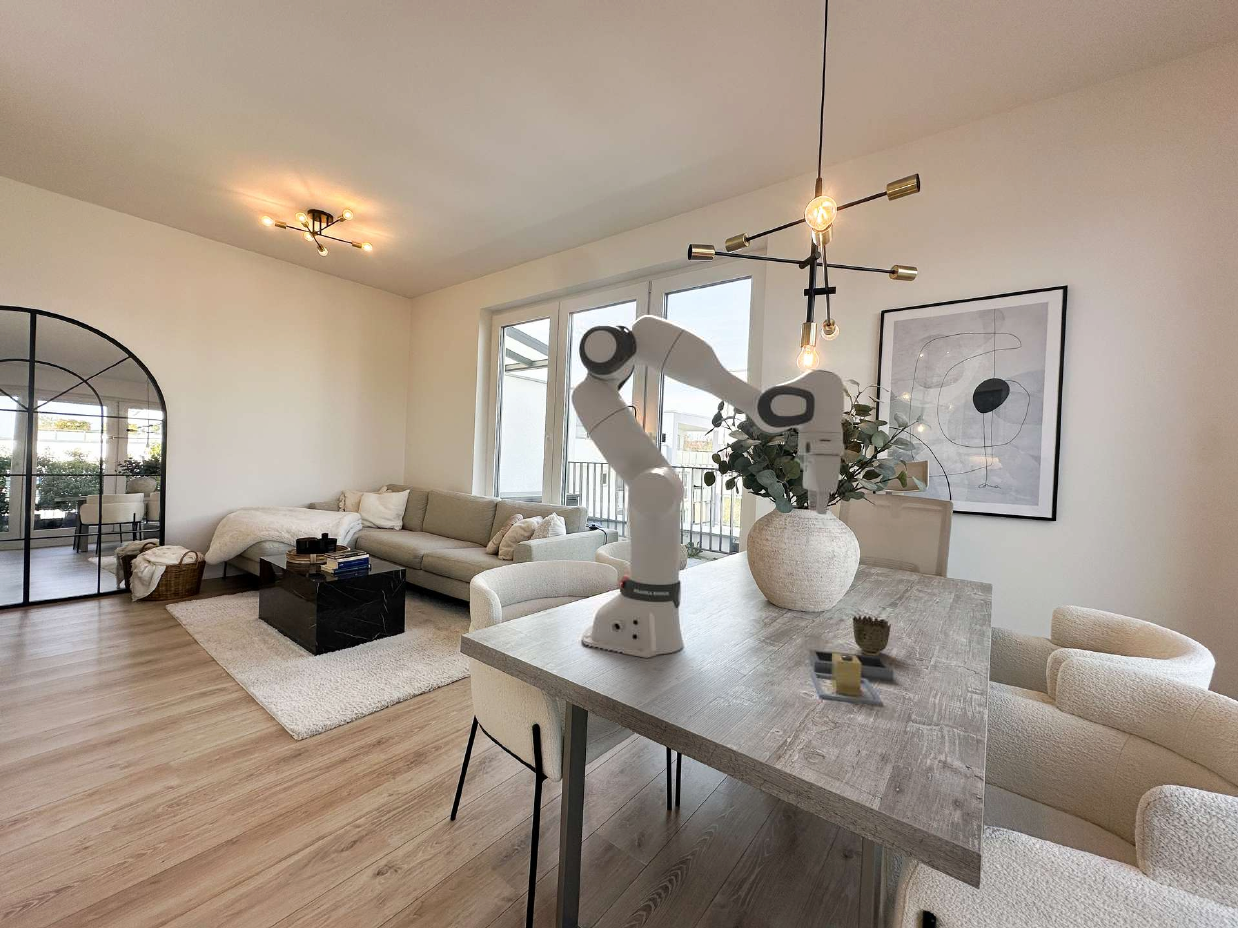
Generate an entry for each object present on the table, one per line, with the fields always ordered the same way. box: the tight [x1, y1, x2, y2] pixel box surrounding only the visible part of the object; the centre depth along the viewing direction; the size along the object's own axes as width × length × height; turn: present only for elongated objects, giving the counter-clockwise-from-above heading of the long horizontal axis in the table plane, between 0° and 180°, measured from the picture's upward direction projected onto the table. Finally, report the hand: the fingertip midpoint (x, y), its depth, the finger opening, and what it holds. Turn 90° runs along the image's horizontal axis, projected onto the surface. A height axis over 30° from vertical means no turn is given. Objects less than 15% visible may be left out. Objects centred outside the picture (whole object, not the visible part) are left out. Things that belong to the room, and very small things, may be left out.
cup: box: [852, 615, 892, 657], centre depth 111 cm, size 8×7×8 cm
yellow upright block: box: [830, 653, 862, 697], centre depth 91 cm, size 4×4×6 cm
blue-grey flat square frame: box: [809, 671, 884, 707], centre depth 91 cm, size 10×10×2 cm
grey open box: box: [808, 648, 895, 682], centre depth 100 cm, size 14×7×3 cm, turn 78°
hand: (817, 512), depth 109 cm, fingers open, 8 cm apart
